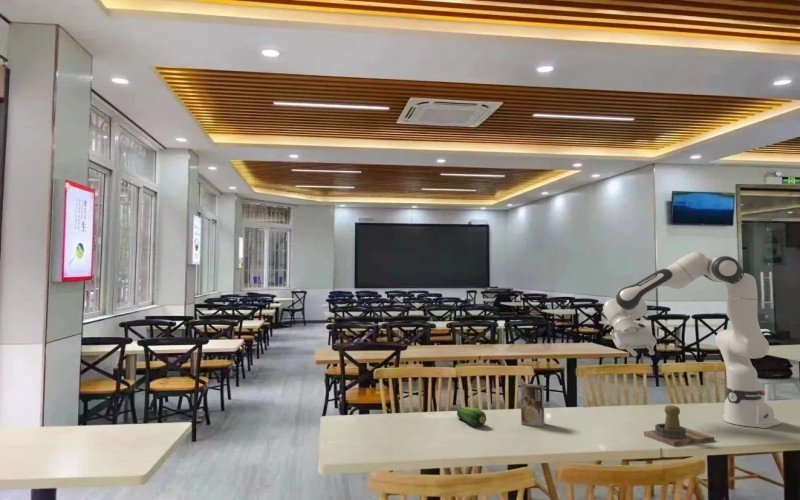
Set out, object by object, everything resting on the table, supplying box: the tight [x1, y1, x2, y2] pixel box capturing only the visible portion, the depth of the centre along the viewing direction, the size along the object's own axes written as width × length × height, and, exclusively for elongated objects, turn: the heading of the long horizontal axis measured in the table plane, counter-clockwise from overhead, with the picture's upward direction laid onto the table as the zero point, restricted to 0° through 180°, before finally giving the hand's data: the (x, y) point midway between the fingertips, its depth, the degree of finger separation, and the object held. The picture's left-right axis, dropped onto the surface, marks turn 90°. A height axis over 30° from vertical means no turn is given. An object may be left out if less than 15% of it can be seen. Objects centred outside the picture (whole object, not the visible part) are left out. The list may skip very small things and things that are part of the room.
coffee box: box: [520, 383, 545, 427], centre depth 220 cm, size 9×6×16 cm
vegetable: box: [456, 406, 487, 428], centre depth 222 cm, size 7×7×20 cm
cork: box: [664, 404, 681, 430], centre depth 198 cm, size 6×6×11 cm
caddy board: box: [643, 423, 715, 447], centre depth 200 cm, size 20×14×4 cm
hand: (644, 354), depth 225 cm, fingers open, 8 cm apart
